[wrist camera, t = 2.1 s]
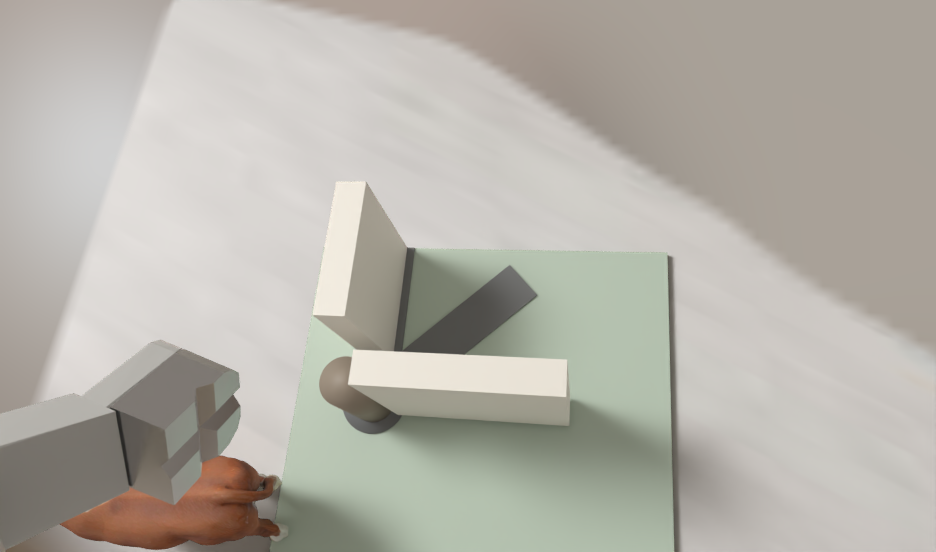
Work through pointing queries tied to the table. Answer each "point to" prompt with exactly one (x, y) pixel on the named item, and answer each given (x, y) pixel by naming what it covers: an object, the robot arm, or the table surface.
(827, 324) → the table surface
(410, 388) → the white rectangular slab
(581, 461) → the mat
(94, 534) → the bull figurine
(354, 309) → the fixed rail
